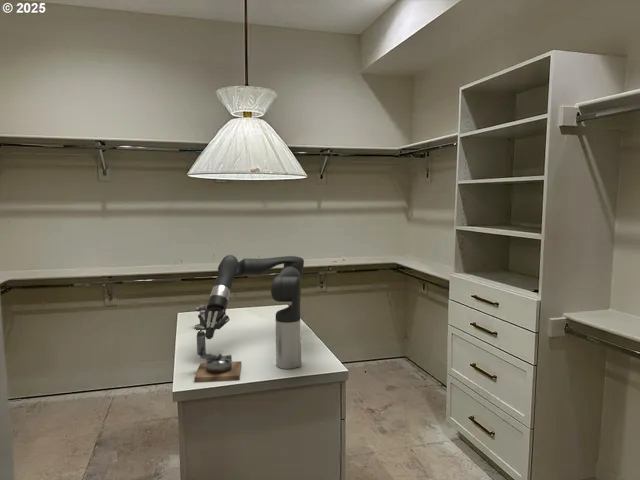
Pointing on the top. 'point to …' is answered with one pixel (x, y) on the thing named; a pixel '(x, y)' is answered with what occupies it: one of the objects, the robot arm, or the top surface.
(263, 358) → the top surface
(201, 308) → the figurine
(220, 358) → the grey bent piece
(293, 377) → the top surface
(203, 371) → the walnut cap plate
